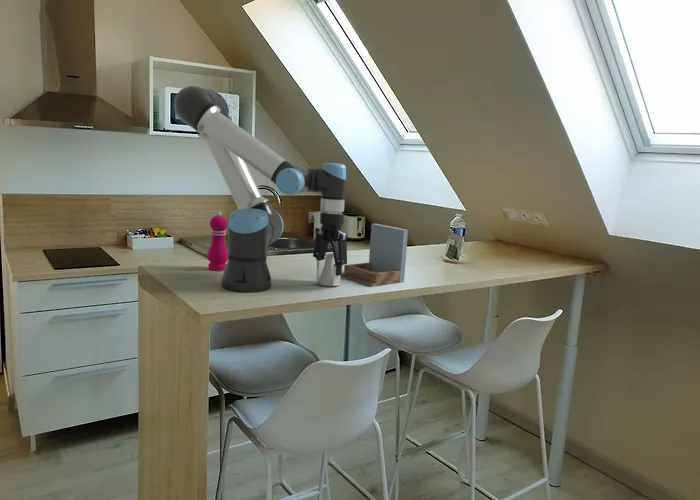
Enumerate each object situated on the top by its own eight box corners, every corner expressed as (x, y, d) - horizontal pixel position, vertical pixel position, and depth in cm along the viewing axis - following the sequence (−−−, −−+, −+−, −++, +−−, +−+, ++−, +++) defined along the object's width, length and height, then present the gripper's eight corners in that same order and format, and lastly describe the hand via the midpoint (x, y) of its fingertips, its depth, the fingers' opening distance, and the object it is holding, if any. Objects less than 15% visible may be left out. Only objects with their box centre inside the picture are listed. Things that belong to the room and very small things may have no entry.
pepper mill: (202, 268, 201) (204, 210, 197) (220, 266, 206) (222, 210, 203) (214, 272, 196) (215, 213, 193) (232, 270, 201) (234, 212, 198)
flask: (322, 280, 193) (324, 251, 192) (342, 283, 191) (344, 253, 189) (313, 284, 187) (314, 254, 185) (333, 288, 184) (335, 257, 182)
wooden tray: (371, 286, 189) (372, 274, 188) (340, 276, 201) (341, 265, 200) (399, 282, 197) (400, 271, 197) (368, 273, 209) (368, 262, 209)
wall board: (399, 282, 197) (403, 230, 194) (368, 273, 209) (371, 223, 206) (403, 282, 199) (408, 229, 196) (372, 272, 211) (375, 223, 208)
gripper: (362, 215, 180) (357, 287, 183) (322, 208, 195) (318, 275, 198) (343, 216, 175) (339, 290, 179) (303, 208, 190) (300, 277, 194)
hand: (328, 282), depth 188 cm, fingers closed on flask, 7 cm apart
